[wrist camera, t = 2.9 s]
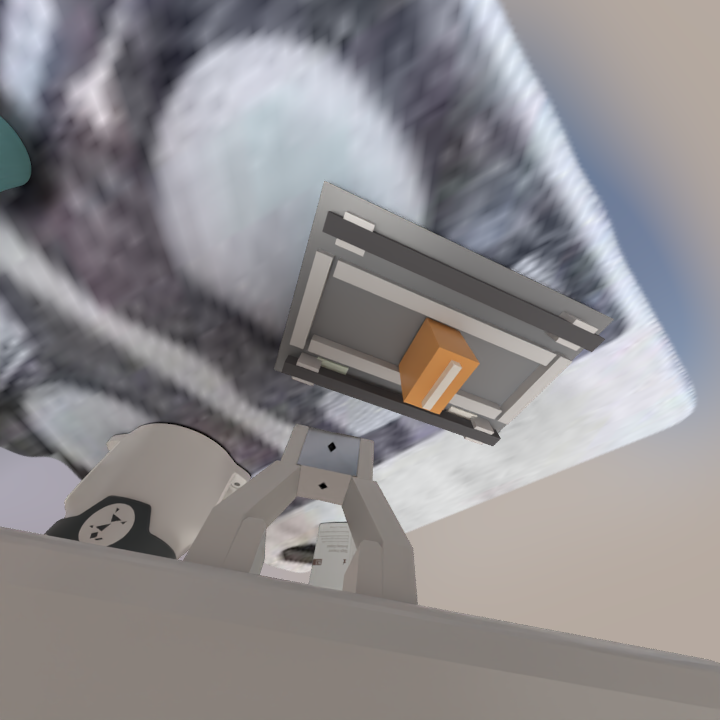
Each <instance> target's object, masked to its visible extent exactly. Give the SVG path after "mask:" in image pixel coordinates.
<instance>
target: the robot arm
mask: <svg viewBox="0 0 720 720" xmlns="http://www.w3.org/2000/svg"><path fill="white" fill-rule="evenodd" d="M106 445H107V448H108V449H109V451H110V452H109V453H108V454H107V455H106V456H105V457H104V458H103V459H102V460H101V461H100V462H99V463H98V464H97V465H96V466H95V467H94V468H93V469H92V470H91V472H90V473H89V474H88V475H87V476H86V477H85V478H84V479H83V480H82V481H81V482H80V483H79V484H78V486H77V487H76V488H75V489H74V490H73V491H72V492H71V493H70V494H69V495H68V496H67V498H66V499H65V502H64V503H65V510H66V515H65V518H64V519H61V520H59V521H57V522H56V523H55V524H54V525H53V526H52V527H51V528H50V529H49V530H48V531H47V532H46V533H45V534H44V535H43V534H38V533H32V532H27V531H22V530H16V529H11V528H5V527H0V720H720V663H718V662H715V661H712V660H708V659H703V658H697V657H693V656H687V655H682V654H676V653H671V652H666V651H660V650H655V649H650V648H645V647H639V646H634V645H629V644H623V643H618V642H613V641H607V640H602V639H596V638H591V637H586V636H581V635H575V634H570V633H564V632H559V631H554V630H549V629H543V628H538V627H533V626H528V625H522V624H517V623H511V622H506V621H501V620H496V619H490V618H484V617H480V616H474V615H469V614H464V613H458V612H453V611H448V610H442V609H437V608H432V607H426V606H421V605H418V602H417V590H416V579H415V566H414V554H413V547H412V545H411V544H410V542H409V540H408V538H407V536H406V534H405V533H404V531H403V529H402V527H401V525H400V524H399V522H398V520H397V518H396V516H395V515H394V513H393V511H392V509H391V507H390V505H389V504H388V502H387V500H386V498H385V496H384V495H383V493H382V491H381V489H380V487H379V485H378V484H377V482H376V481H372V478H373V453H374V442H373V441H372V440H367V439H363V438H359V437H354V436H349V435H344V434H339V433H333V432H329V431H325V430H321V429H316V428H312V427H308V426H303V425H299V424H296V425H295V427H294V429H293V431H292V434H291V436H290V439H289V441H288V444H287V446H286V449H285V451H284V454H283V456H282V459H281V461H275V462H274V463H272V464H271V465H270V466H268V467H267V468H266V469H264V470H263V471H262V472H260V473H259V474H257V475H256V476H255V477H253V478H252V479H251V476H250V475H249V474H248V473H247V472H246V471H245V470H243V469H242V468H241V467H239V466H238V465H236V463H235V462H234V461H233V460H232V458H231V457H230V456H229V454H228V453H227V452H226V451H225V450H224V449H223V448H222V447H221V446H220V445H218V444H217V443H216V442H214V441H213V440H211V439H210V438H208V437H206V436H204V435H202V434H200V433H198V432H196V431H193V430H191V429H188V428H185V427H181V426H177V425H172V424H163V423H155V424H147V425H143V426H141V427H139V428H137V429H135V430H134V431H132V432H131V433H129V434H121V435H115V436H113V437H112V438H111V439H110V440H109V441H108V442H107V443H106ZM250 479H251V480H250ZM296 496H299V497H305V498H310V499H316V500H321V501H325V502H330V503H334V504H338V505H342V508H343V511H344V514H345V517H346V520H347V523H348V526H349V529H350V532H351V535H352V538H353V541H354V543H355V546H356V549H357V551H356V552H355V554H354V556H353V558H352V560H351V562H350V564H349V566H348V568H347V570H346V572H345V574H344V581H343V589H342V591H341V590H336V589H331V588H325V587H320V586H315V585H309V584H304V583H298V582H293V581H288V580H282V579H277V578H272V577H267V576H261V575H260V572H261V569H262V566H263V563H264V559H265V540H266V529H267V527H268V526H269V525H270V524H271V523H272V522H273V521H274V520H275V519H276V518H277V517H278V516H279V515H280V514H281V513H282V512H283V511H284V510H285V509H286V508H287V506H288V505H289V504H290V503H291V502H292V501H293V500H294V499H295V498H296ZM188 550H189V551H188ZM187 551H188V553H187V555H186V556H185V558H184V560H183V561H182V560H178V559H179V558H180V557H181V556H182V555H184V554H185V553H186V552H187Z"/></svg>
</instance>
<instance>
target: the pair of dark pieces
mask: <svg viewBox="0 0 720 720" xmlns="http://www.w3.org/2000/svg"><path fill="white" fill-rule="evenodd" d="M343 218H344V217H343V216H340V215H338V214H336V213H334V212H332V211H329V212H328V213H327V217H326V220H325V223H324V227H323V230H322V232H324V233H326V234H329V235H331V236H333V237H335V238H338V239H340V240H342V241H344V242H347V243H349V244H351V245H353V246H355V247H358V248H360V249H362V250H364V251H367V252H369V253H371V254H373V255H376V256H378V257H380V258H382V259H385V260H387V261H389V262H391V263H394V264H396V265H398V266H400V267H403V268H405V269H407V270H409V271H412V272H414V273H416V274H418V275H420V276H423V277H425V278H427V279H429V280H432V281H434V282H436V283H438V284H441V285H443V286H445V287H447V288H450V289H452V290H454V291H456V292H459V293H461V294H463V295H465V296H468V297H470V298H472V299H474V300H476V301H479V302H481V303H483V304H485V305H488V306H490V307H492V308H494V309H497V310H499V311H501V312H503V313H506V314H508V315H510V316H512V317H515V318H517V319H519V320H521V321H524V322H526V323H528V324H530V325H533V326H535V327H537V328H539V329H541V330H544V331H546V332H548V333H550V334H553V335H555V336H557V337H559V338H562V339H564V340H566V341H568V342H571V343H573V344H575V345H577V346H580V347H582V348H584V349H586V350H589V351H591V352H592V351H593V350H594V349H595V348H597V347H598V346H599V345H600V344H601V343H602V342H603V341H604V340H605V339H604V338H602V337H601V336H599V335H597V334H596V333H594V334H593V333H591V332H589V331H586V330H584V329H582V328H580V327H578V326H576V325H573V324H572V323H570V322H568V321H567V320H565V319H563V318H561V317H559V316H557V315H555V314H553V313H551V312H548V311H546V310H544V309H542V308H540V307H538V306H535V305H533V304H531V303H529V302H527V301H525V300H522V299H520V298H518V297H516V296H514V295H512V294H509V293H507V292H505V291H503V290H501V289H499V288H496V287H494V286H492V285H490V284H488V283H486V282H483V281H481V280H479V279H477V278H475V277H473V276H470V275H468V274H466V273H464V272H462V271H460V270H457V269H455V268H453V267H451V266H449V265H447V264H444V263H442V262H440V261H438V260H436V259H434V258H431V257H429V256H427V255H425V254H423V253H421V252H418V251H416V250H414V249H412V248H410V247H408V246H405V245H403V244H401V243H399V242H397V241H395V240H392V239H390V238H388V237H386V236H384V235H382V234H379V233H377V232H375V231H373V232H371V231H369V230H367V229H365V228H363V227H361V226H358V225H356V224H354V223H352V222H350V221H348V220H345V219H343ZM298 359H299V358H297V357H294V356H291V355H288V357H287V358H286V360H285V362H284V365H283V369H282V373H285V374H288V375H291V376H294V377H297V378H299V379H302V380H305V381H308V382H311V383H314V384H317V385H319V386H322V387H325V388H328V389H331V390H334V391H337V392H339V393H342V394H345V395H348V396H351V397H354V398H357V399H359V400H362V401H365V402H368V403H371V404H374V405H377V406H379V407H382V408H385V409H388V410H391V411H394V412H397V413H399V414H402V415H405V416H408V417H411V418H414V419H417V420H420V421H422V422H425V423H428V424H431V425H434V426H437V427H440V428H442V429H445V430H448V431H451V432H454V433H457V434H460V435H462V436H465V437H468V438H471V439H474V440H477V441H480V442H482V443H485V444H488V445H491V446H494V445H495V444H496V443H497V442H498V441H499V440H500V439H501V438H500V437H499V435H498V433H497V431H496V429H493V428H492V429H493V431H494V433H493V434H492V435H490V434H488V433H485V432H482V431H479V430H476V429H474V427H473V425H472V422H471V420H468V419H465V418H462V417H460V416H457V415H454V414H451V413H449V412H446V411H443V410H442V412H441V413H440V414H436V413H433V412H431V411H428V410H425V409H422V408H420V407H417V406H414V405H411V404H408V403H406V402H403V396H402V395H399V394H396V393H393V392H391V391H388V390H385V389H382V388H380V387H377V386H374V385H371V384H368V383H366V382H363V381H360V380H357V379H355V378H352V377H349V376H346V375H344V374H341V373H338V372H335V371H333V370H330V369H327V368H324V367H322V366H320V369H319V372H318V373H317V372H314V371H311V370H309V369H306V368H303V367H300V366H297V365H296V364H297V361H298Z"/></svg>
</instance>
